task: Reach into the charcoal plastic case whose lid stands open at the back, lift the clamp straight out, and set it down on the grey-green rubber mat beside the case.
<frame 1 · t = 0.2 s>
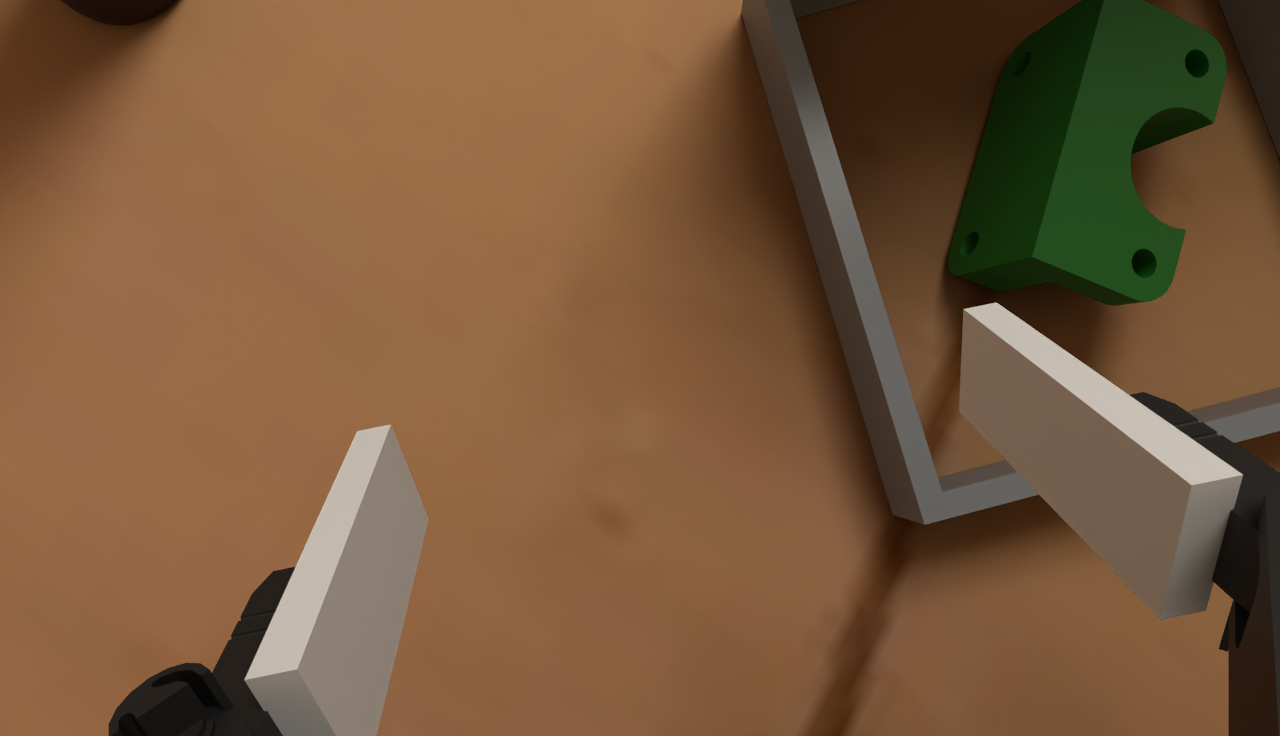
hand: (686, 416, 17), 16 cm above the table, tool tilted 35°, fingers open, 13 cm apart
case: (1050, 189, 33), on the table
clamp: (1046, 191, 33), resting in case
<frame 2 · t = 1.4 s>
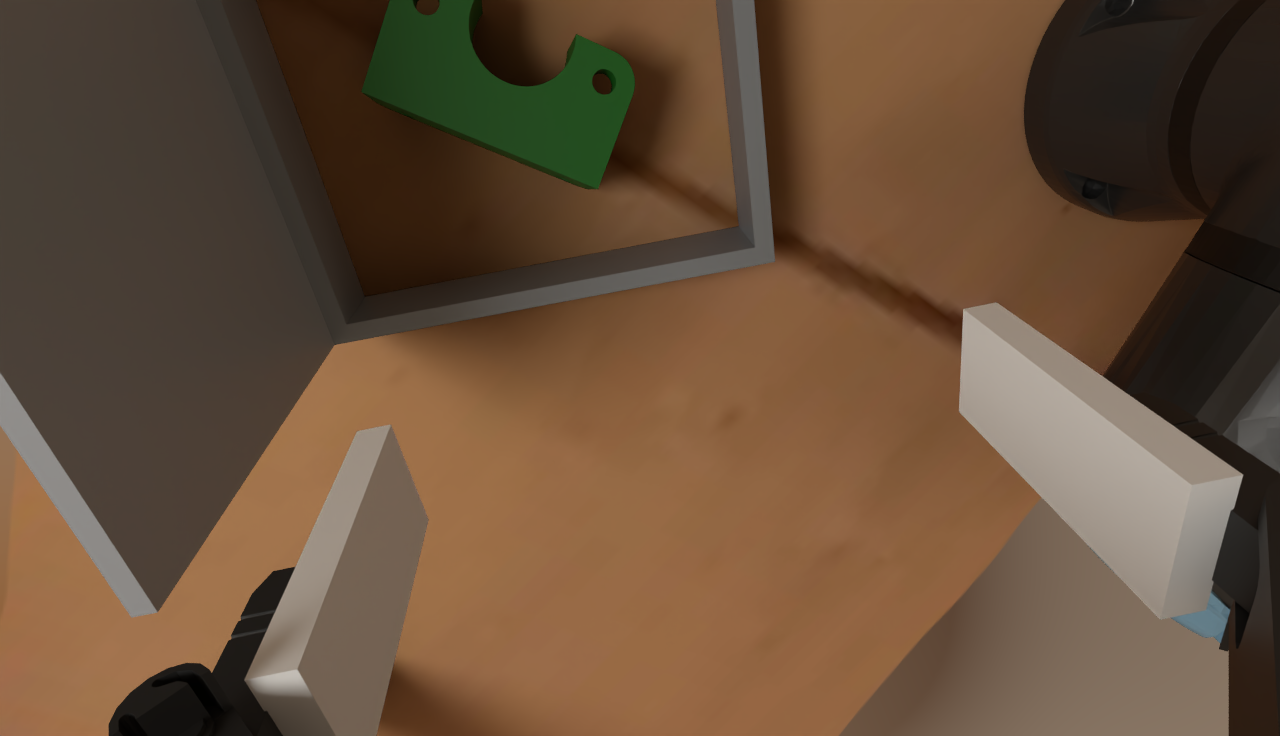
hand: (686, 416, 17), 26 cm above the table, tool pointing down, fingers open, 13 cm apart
case: (510, 78, 37), on the table
clamp: (509, 81, 38), resting in case
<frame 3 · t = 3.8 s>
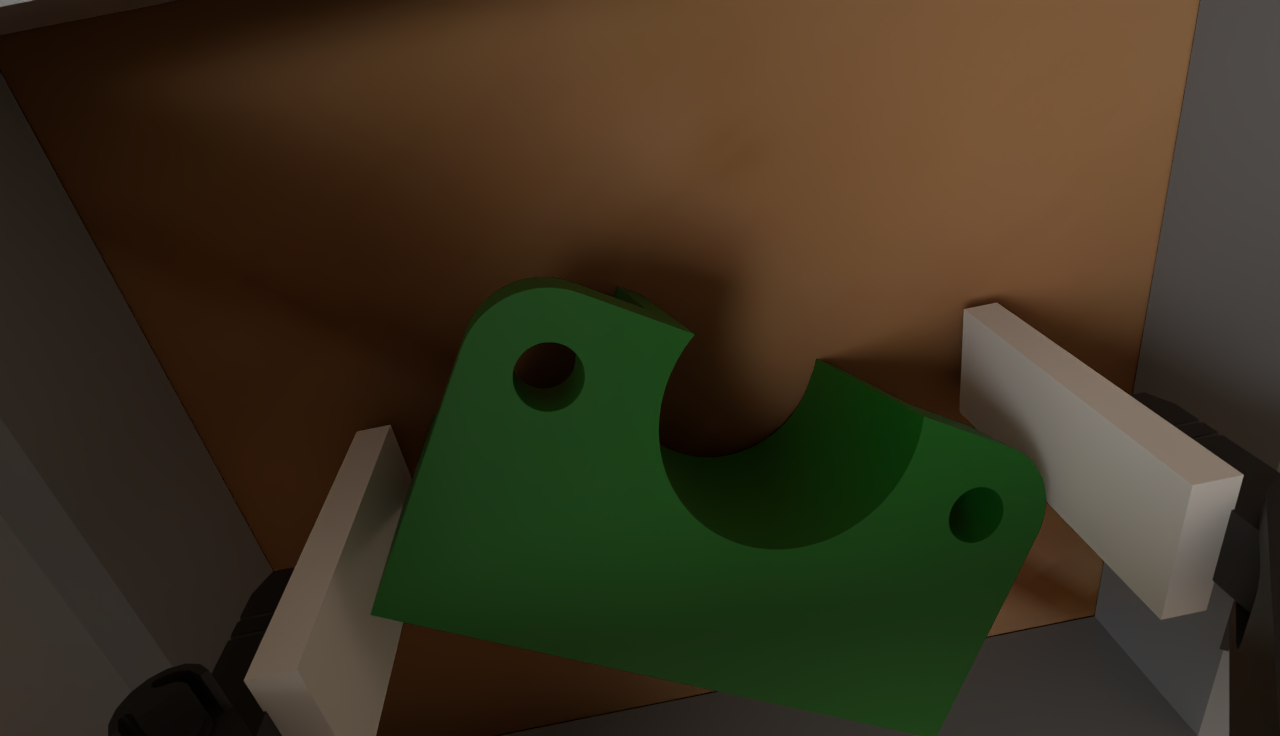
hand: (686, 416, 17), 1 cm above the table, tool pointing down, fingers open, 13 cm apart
case: (691, 406, 17), on the table
clamp: (684, 410, 18), resting in case, touching gripper
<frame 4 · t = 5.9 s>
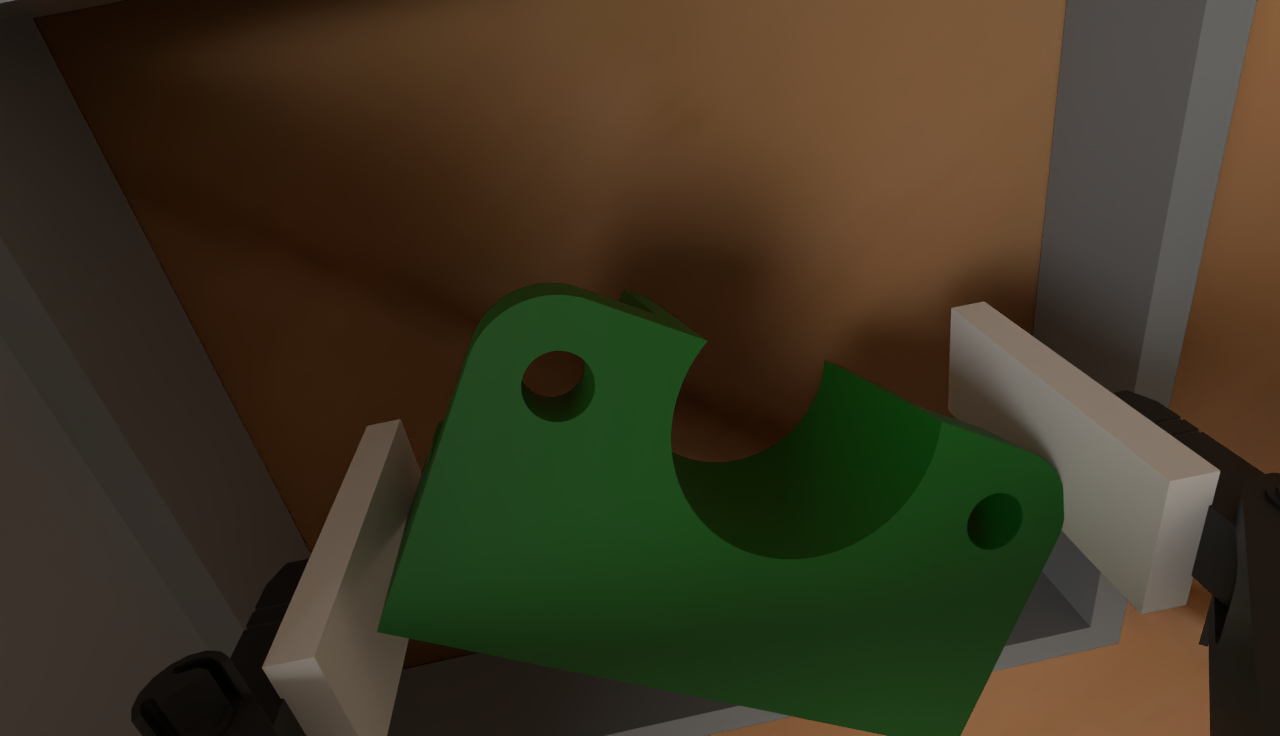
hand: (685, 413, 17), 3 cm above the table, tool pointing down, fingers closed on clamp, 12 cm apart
case: (648, 343, 20), on the table
clamp: (692, 415, 17), point 3 cm above the table, touching gripper
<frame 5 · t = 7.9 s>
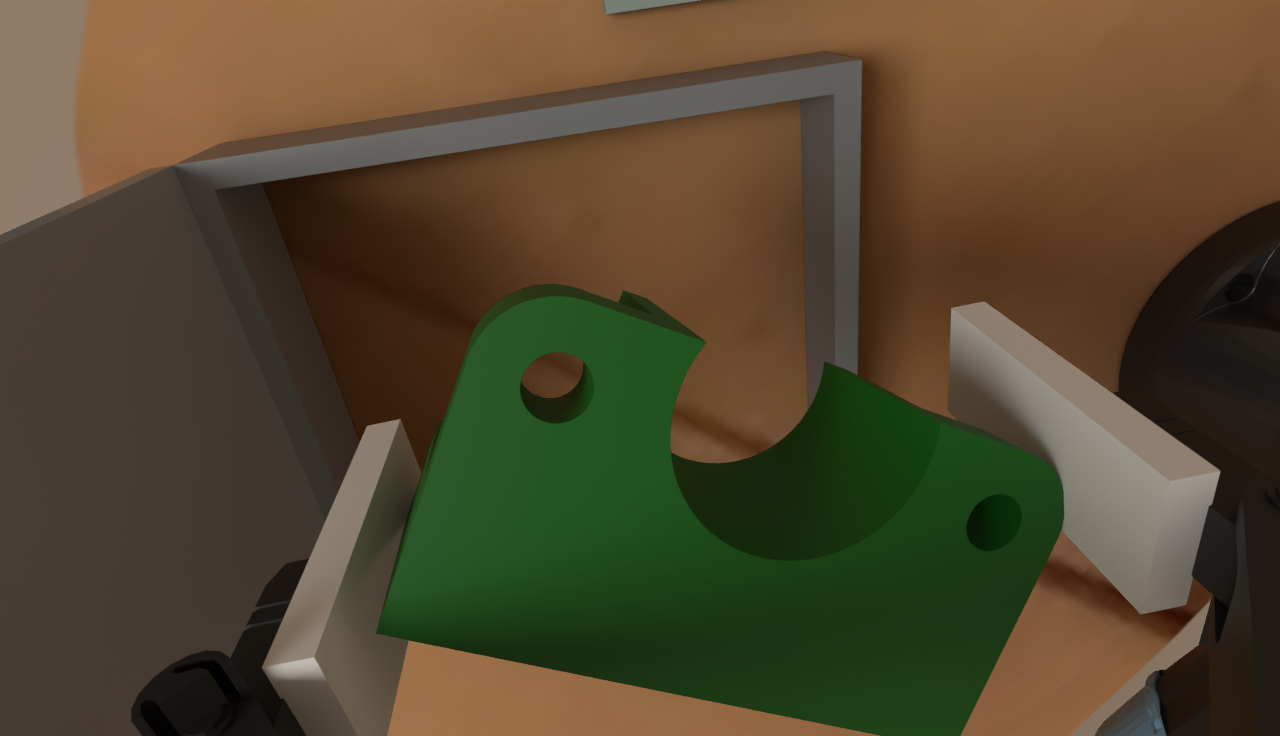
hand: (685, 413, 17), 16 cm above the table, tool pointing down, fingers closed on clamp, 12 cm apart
case: (574, 344, 34), on the table
clamp: (691, 416, 17), point 16 cm above the table, touching gripper
when the fingers open (3 cm above the table, at t = 11.1 s): clamp drops 2 cm, resting on mat.
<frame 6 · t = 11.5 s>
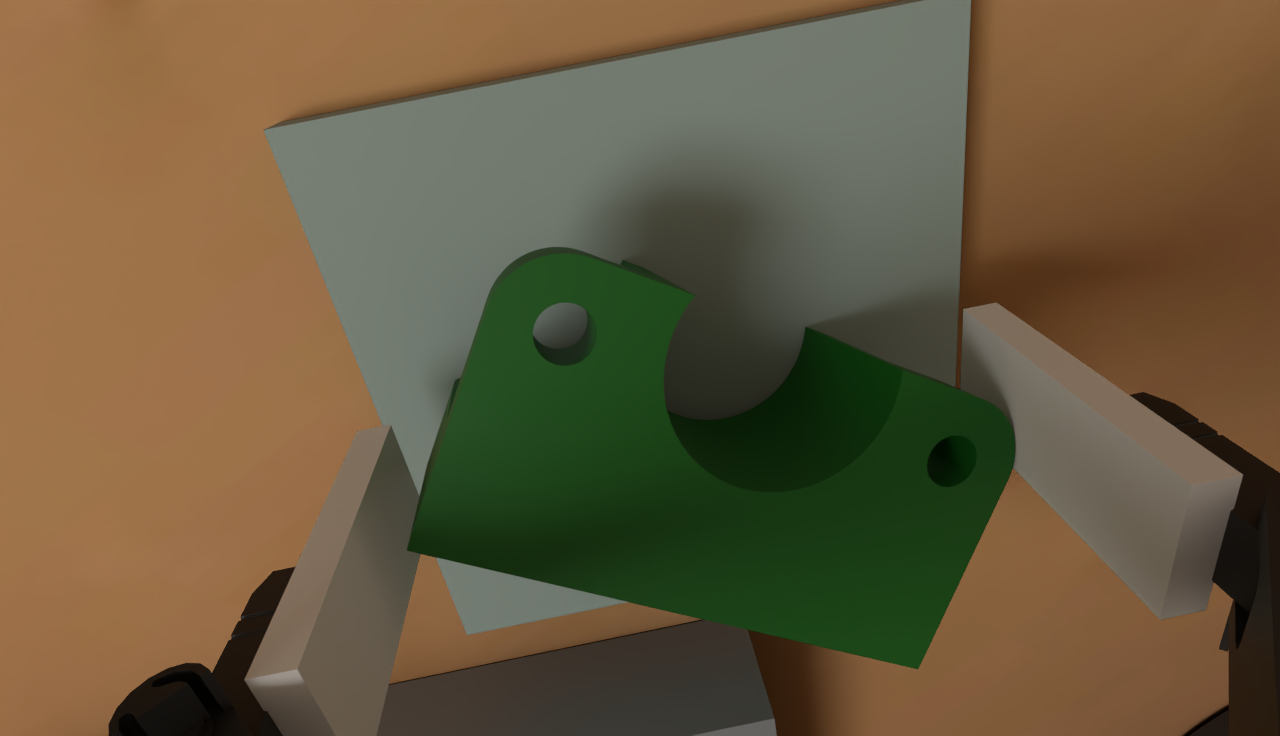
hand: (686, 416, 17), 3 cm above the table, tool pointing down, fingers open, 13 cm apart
mat: (667, 355, 19), on the table
clamp: (685, 377, 19), point 1 cm above the table, touching mat
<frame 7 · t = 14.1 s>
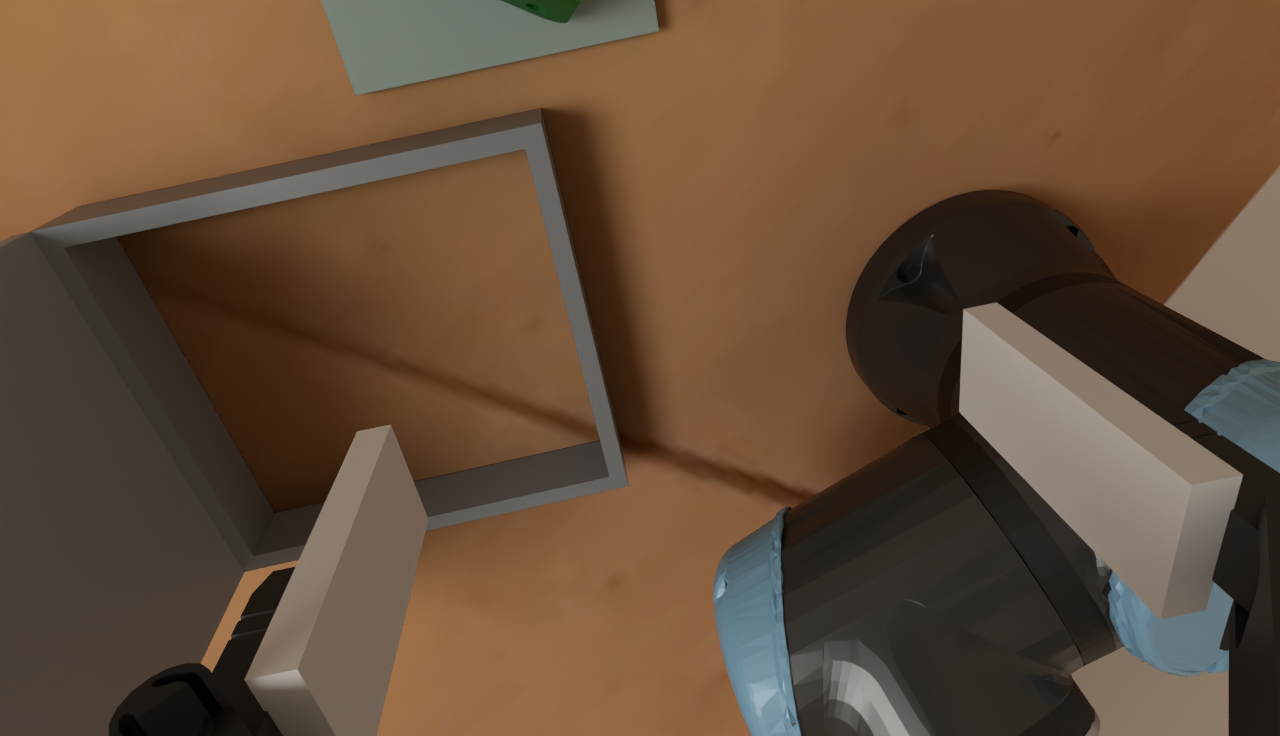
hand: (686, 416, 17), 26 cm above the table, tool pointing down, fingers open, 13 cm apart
case: (386, 343, 42), on the table
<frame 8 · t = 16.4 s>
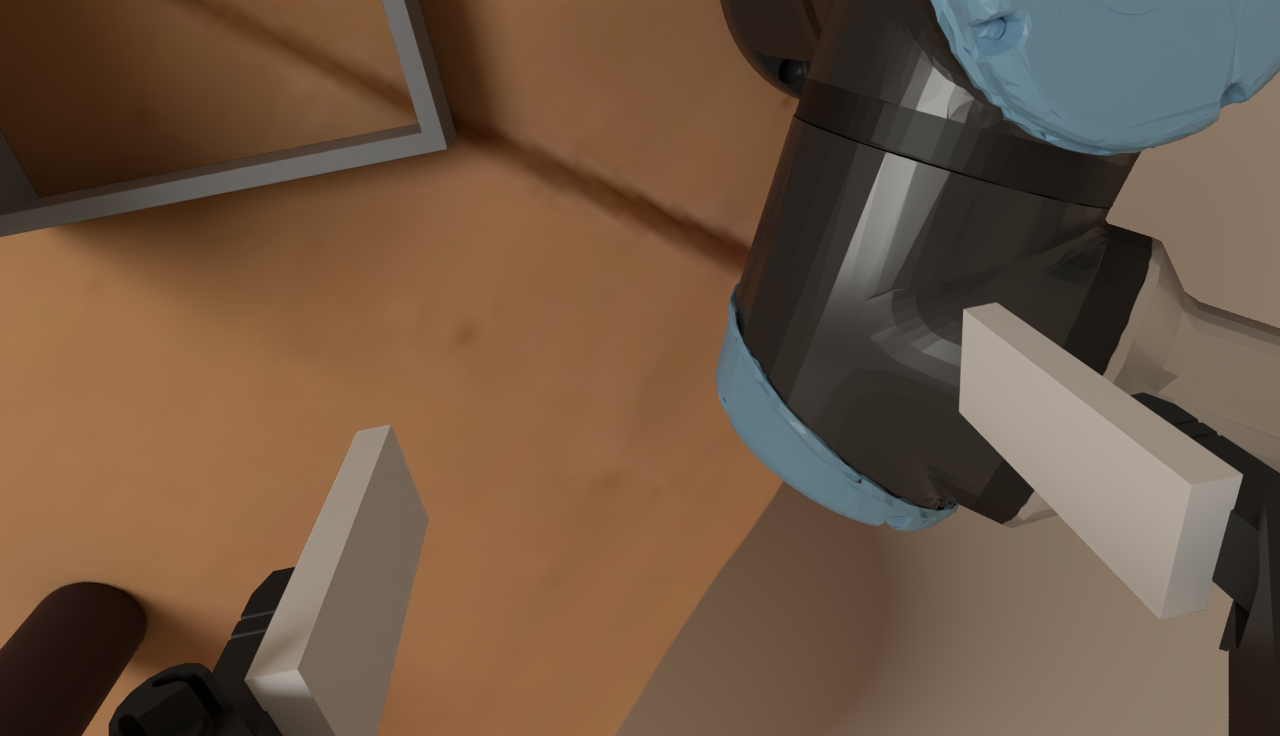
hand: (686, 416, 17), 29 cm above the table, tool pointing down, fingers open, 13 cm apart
wine bottle: (98, 614, 53), on the table
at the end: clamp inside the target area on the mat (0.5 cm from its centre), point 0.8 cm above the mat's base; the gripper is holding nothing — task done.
